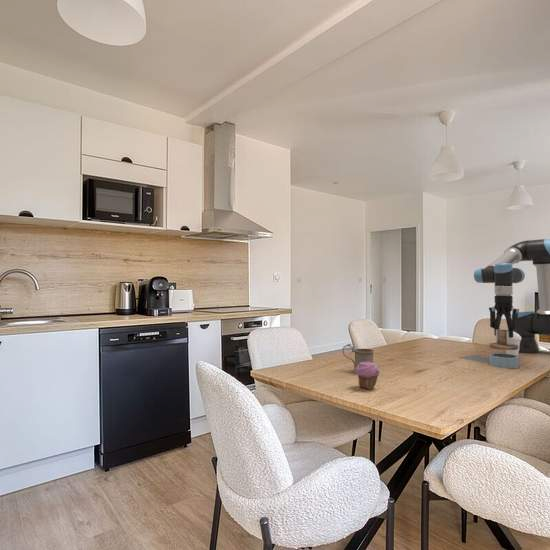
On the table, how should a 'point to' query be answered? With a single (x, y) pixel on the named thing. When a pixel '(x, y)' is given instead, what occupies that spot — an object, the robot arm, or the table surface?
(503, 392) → the table surface
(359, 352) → the mug
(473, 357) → the mat
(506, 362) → the bowl
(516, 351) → the soft serve ice cream cone
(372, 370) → the cupcake
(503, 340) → the lid
